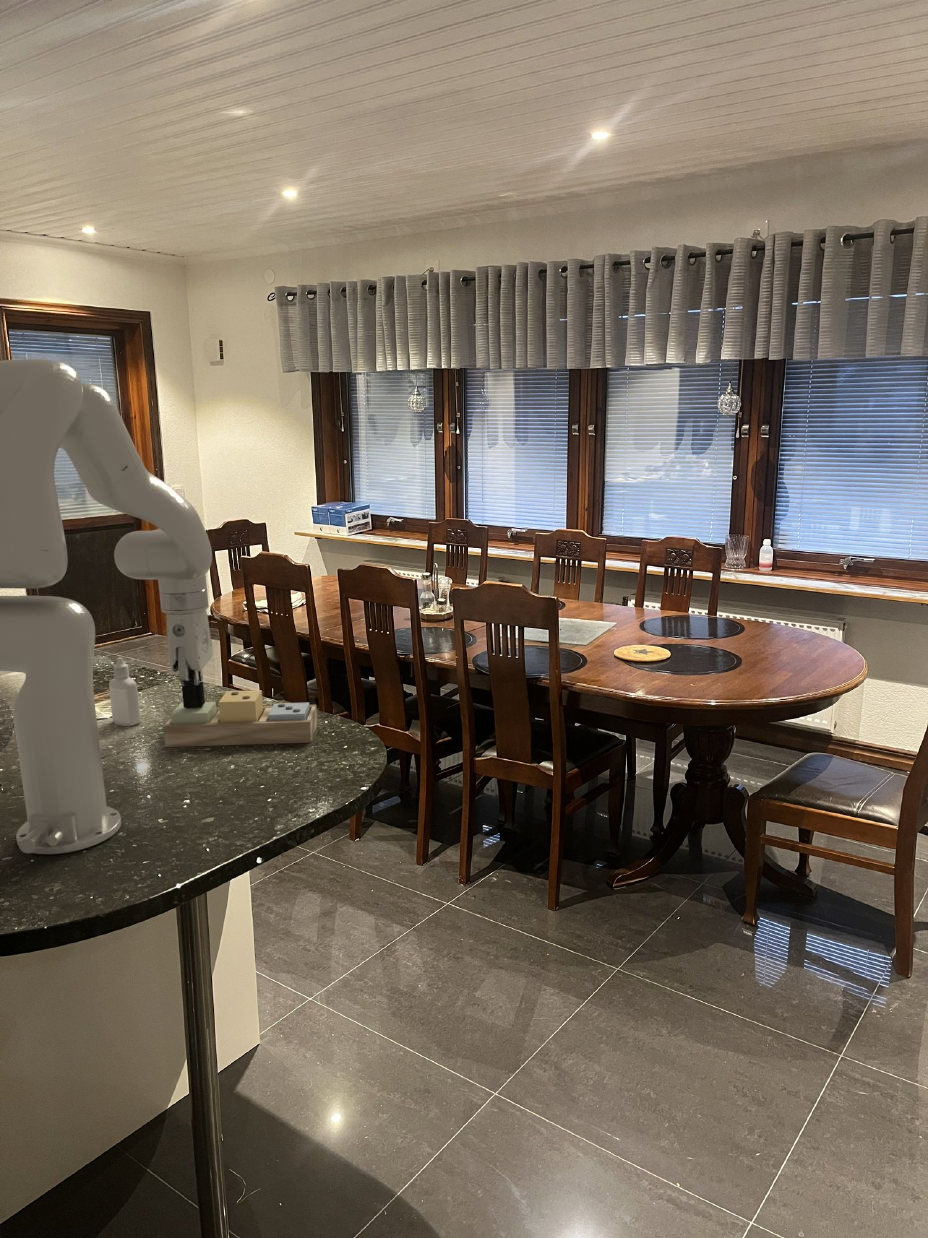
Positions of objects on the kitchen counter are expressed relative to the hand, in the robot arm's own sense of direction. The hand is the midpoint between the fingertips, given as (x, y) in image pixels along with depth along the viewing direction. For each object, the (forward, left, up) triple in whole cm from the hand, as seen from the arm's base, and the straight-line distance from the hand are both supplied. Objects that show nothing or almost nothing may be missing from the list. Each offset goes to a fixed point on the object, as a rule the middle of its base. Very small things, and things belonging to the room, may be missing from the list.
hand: (194, 705), depth 151 cm
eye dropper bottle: (+8, +15, -6) cm, 18 cm away
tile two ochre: (0, -8, -2) cm, 8 cm away
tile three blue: (0, -16, -5) cm, 17 cm away
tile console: (0, -8, -5) cm, 10 cm away
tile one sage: (0, 0, -4) cm, 4 cm away
